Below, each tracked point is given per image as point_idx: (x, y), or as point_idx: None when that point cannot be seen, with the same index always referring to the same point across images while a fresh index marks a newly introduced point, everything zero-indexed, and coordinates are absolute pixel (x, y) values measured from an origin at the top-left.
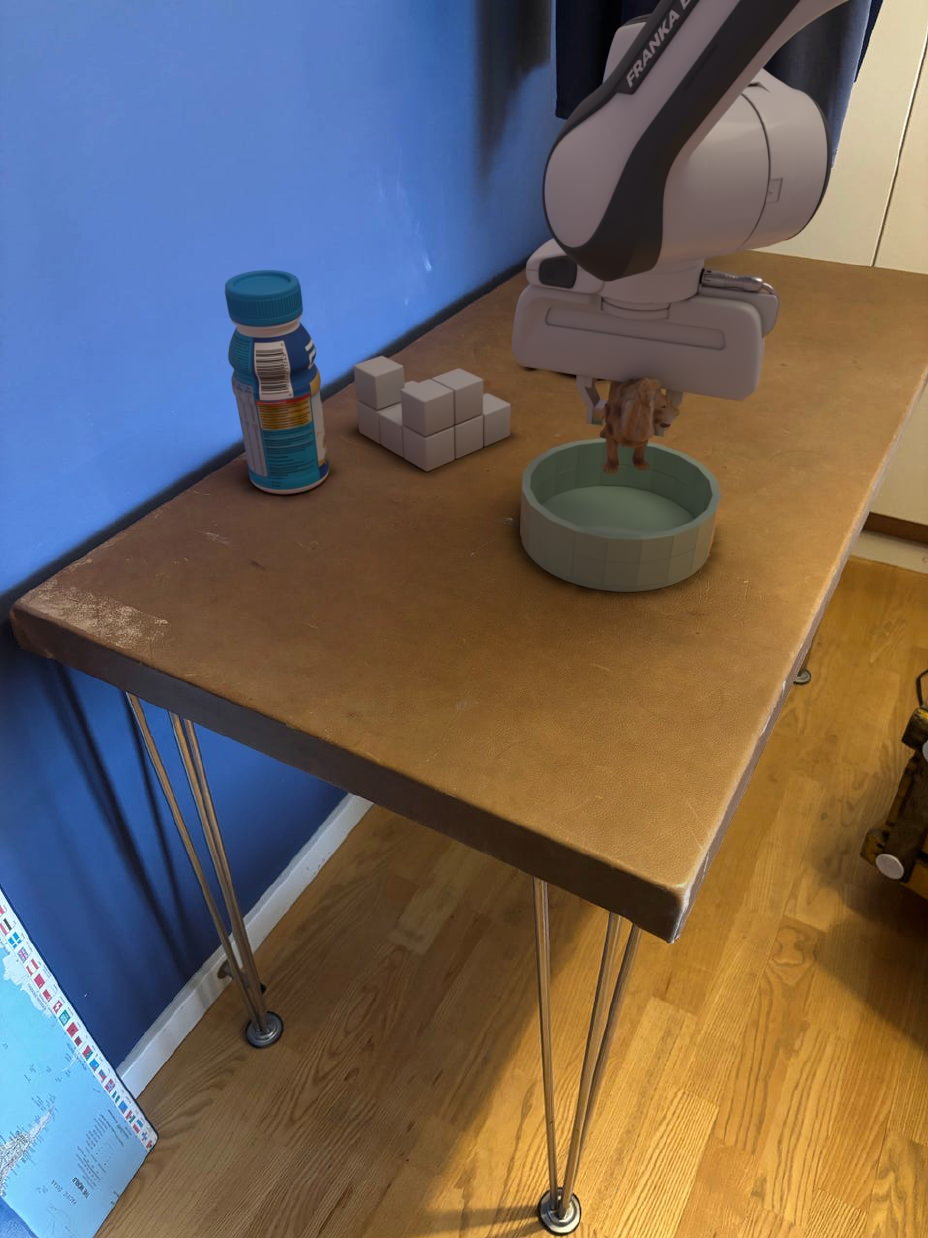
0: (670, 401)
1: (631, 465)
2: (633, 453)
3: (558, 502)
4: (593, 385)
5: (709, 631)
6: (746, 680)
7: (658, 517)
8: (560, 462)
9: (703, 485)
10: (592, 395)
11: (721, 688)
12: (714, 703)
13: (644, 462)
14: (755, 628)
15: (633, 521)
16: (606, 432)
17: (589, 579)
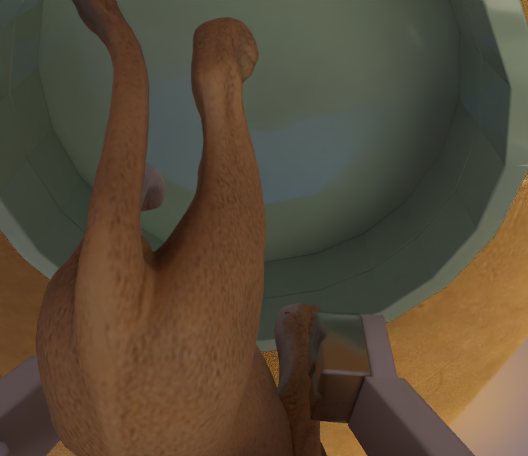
0: (399, 448)
1: None
2: (276, 346)
3: (74, 32)
4: (13, 421)
5: (438, 299)
6: (476, 356)
7: (346, 22)
8: (5, 17)
9: (490, 51)
10: (49, 426)
11: (442, 370)
12: (431, 386)
13: (311, 329)
14: (512, 281)
15: (284, 62)
16: (142, 210)
17: None
